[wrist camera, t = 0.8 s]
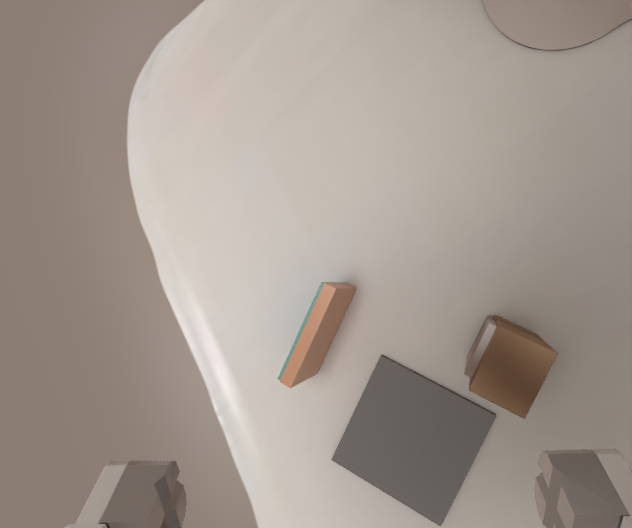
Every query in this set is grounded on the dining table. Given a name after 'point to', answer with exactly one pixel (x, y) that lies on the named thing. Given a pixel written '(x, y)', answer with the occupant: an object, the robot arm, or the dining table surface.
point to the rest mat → (413, 439)
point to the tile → (317, 332)
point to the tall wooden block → (508, 365)
